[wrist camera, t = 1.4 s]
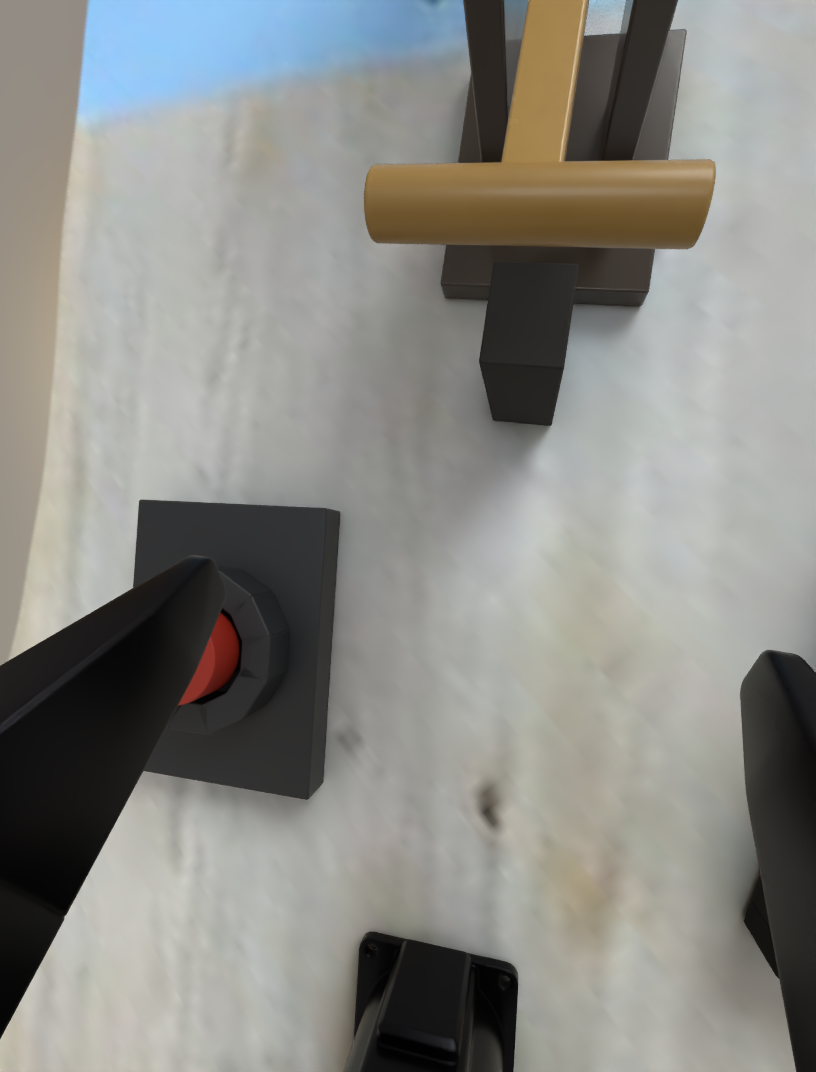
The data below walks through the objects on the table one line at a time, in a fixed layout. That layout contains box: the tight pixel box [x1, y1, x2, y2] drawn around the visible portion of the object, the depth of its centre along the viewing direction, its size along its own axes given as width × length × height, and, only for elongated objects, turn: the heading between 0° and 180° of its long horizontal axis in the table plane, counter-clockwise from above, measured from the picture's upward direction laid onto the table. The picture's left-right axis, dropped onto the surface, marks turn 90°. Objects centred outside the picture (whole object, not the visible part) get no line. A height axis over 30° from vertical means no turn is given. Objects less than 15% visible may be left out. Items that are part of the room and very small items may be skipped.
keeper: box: [479, 262, 579, 426], centre depth 18 cm, size 3×2×7 cm
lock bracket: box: [441, 0, 687, 306], centre depth 15 cm, size 10×8×13 cm
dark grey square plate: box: [133, 500, 340, 800], centre depth 22 cm, size 12×9×4 cm
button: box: [178, 612, 239, 706], centre depth 20 cm, size 4×4×2 cm
